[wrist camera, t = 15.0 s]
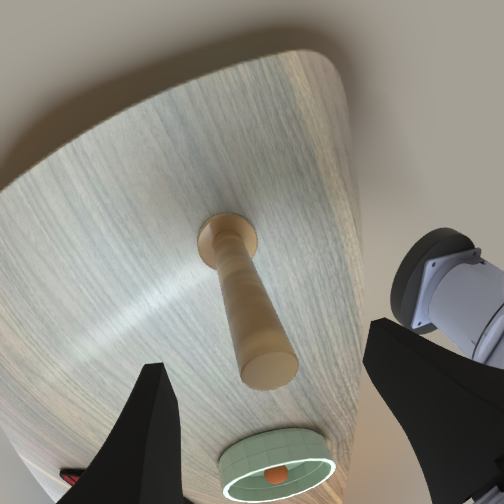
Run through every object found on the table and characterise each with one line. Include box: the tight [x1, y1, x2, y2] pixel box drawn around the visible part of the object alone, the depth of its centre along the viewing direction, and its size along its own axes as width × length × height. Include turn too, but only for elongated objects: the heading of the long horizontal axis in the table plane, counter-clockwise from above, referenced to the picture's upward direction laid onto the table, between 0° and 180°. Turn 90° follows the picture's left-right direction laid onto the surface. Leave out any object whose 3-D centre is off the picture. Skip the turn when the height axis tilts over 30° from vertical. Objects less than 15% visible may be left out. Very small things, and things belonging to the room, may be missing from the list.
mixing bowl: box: [218, 428, 336, 502], centre depth 28 cm, size 13×13×4 cm
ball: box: [264, 465, 288, 484], centre depth 29 cm, size 3×3×3 cm
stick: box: [197, 213, 299, 391], centre depth 13 cm, size 4×4×11 cm
